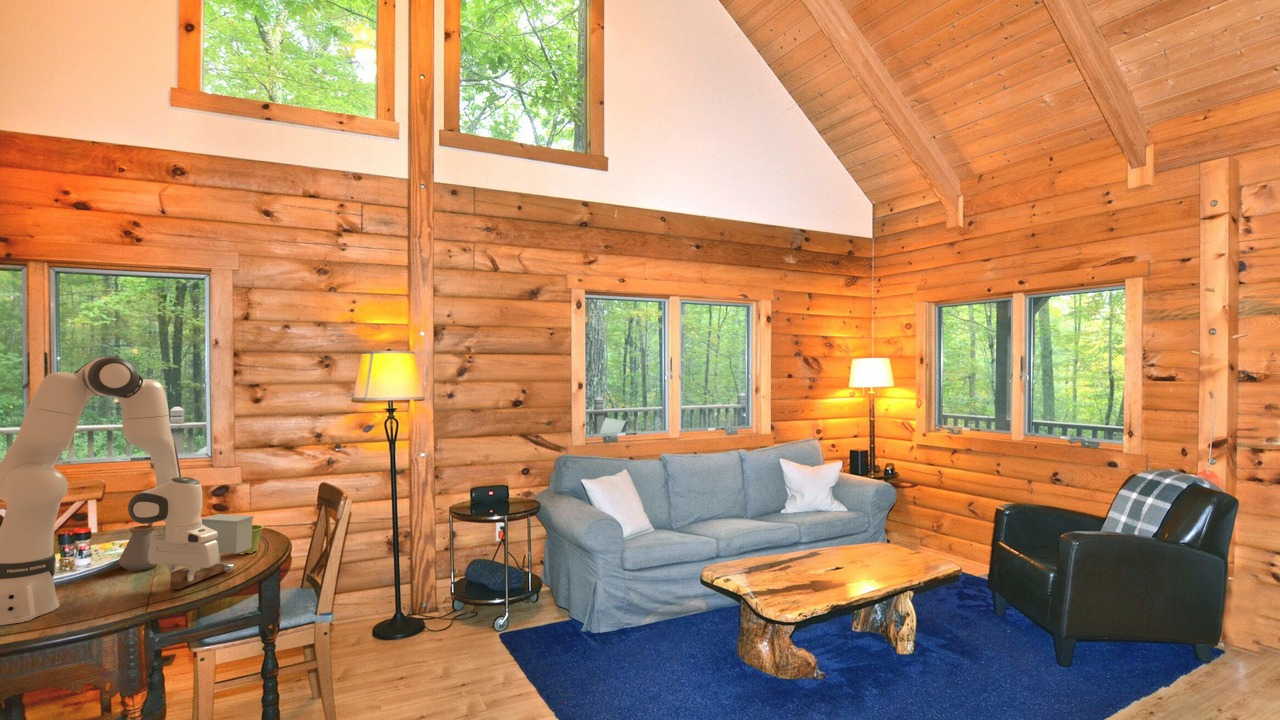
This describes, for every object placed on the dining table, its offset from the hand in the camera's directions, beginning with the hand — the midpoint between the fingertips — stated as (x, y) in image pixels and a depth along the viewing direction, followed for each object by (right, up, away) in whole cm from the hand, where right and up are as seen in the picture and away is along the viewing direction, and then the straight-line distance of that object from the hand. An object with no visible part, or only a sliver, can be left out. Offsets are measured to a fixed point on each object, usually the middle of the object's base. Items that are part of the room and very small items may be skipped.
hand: (182, 580), depth 196 cm
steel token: (+2, -3, +17) cm, 18 cm away
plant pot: (-3, -3, +38) cm, 38 cm away
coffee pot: (-28, -2, +23) cm, 36 cm away
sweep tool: (+1, -2, +6) cm, 6 cm away
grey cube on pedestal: (+2, -3, +18) cm, 18 cm away
